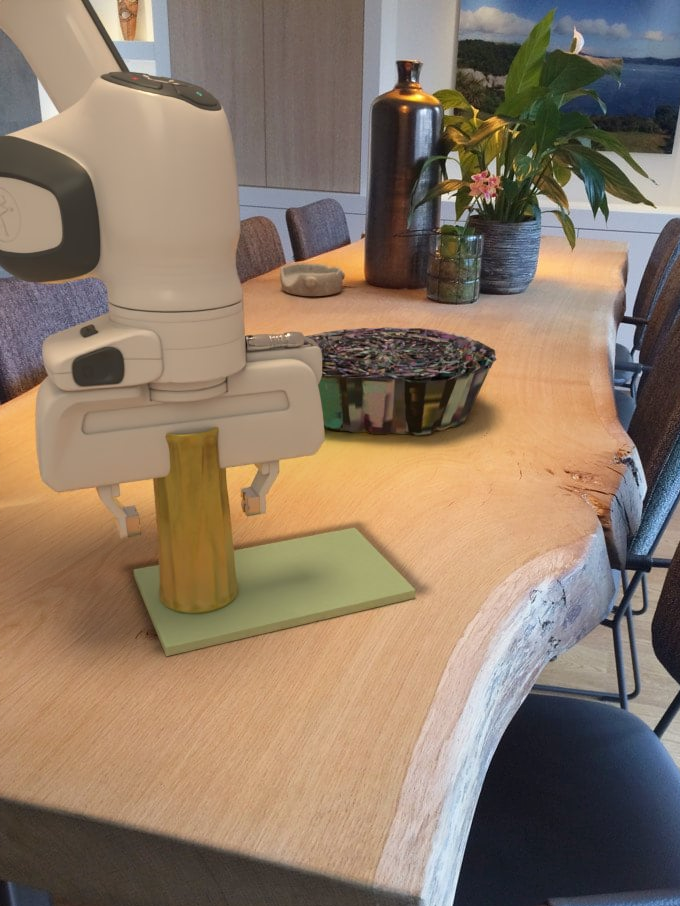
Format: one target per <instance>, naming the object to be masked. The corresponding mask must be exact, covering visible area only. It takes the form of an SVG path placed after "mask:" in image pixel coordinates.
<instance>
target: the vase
mask: <svg viewBox="0 0 680 906" xmlns="http://www.w3.org/2000/svg"><path fill="white" fill-rule="evenodd" d="M218 434H219V428H218V427H215V428H213V429H211V430H208V431H205V432H201V433H194V434H171V433H167V434H166V440H167V443H168V446H169V454H170V471H169V474H168V475H167V476H166V477H162V478H155V479H152V483H153V493H154V507H155V509H154V510H155V520H156V529H157V542H158V545H157V546H158V565H159V573H160V584H159V598H160V601H161V602H162V604H163V605H164V606H166V607H167V608H169V609H171V610H174V611H176V612H180V613H187V614H200V613H207V612H212V611H215V610H218V609H220V608H222V607H224V606H226V605H228V604H230V603H231V602H232V601H233V600H234V599H235V598H236V596H237V594H238V583H237V579H236V572H235V561H234V549H235V547H234V538H233V530H232V529H233V528H232V519H231V518H232V517H231V508H230V501H229V491H228V483H227V482H228V481H227V468H223V469H222V468H220V462H219V450H218Z"/></svg>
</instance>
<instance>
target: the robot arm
mask: <svg viewBox="0 0 680 906" xmlns="http://www.w3.org/2000/svg"><path fill="white" fill-rule="evenodd" d="M0 29H1V30H2V31H3V33H5V34H6V35H7V36H8V38H10V40H11V41H12V42H13V43H14V44H15V46H16V47H17V48H18V50H19V51H20V52H21V54H22V55H23V58H24V59H25V60H26V62H27V63H28V65H29V67H30V69H31V70H32V72H33V73H34V75H35V76H36V78H37V80H38V81H39V84H40V85H41V87H42V88H43V90H44V91H45V93H46V94H47V96H48V98H49V99H50V101H51V102H52V104H53V106H54V107H55V109H56V111H57V112H58V113H57V114H55V115H54V116H52V117H50V118H47V119H45V120H44V121H41V122H38V123H35V124H33V125H30V126H27V127H25V128H22V129H20V130H16V131H13V132H11V133H8V134H4V135H0V268H1V269H3V270H4V271H5V272H7V274H10V275H11V276H13V277H14V278H16V279H18V280H21V281H23V282H26V283H36V284H37V283H38V284H47V285H48V284H49V285H58V284H64V283H70V282H74V281H80V280H84V279H88V278H96V279H98V280H99V281H101V282H102V283H103V284H104V287H105V288H106V294H107V308H108V312H106V313H103V314H101V315H98V316H96V317H94V318H91V319H89V320H86V321H84V322H81V323H78V324H76V325H73V326H71V327H67V328H66V329H63V330H60V331H58V332H55V333H53V334H50V335H49V336H47V337H46V338H45V339H44V340H43V342H42V348H41V349H42V350H41V352H42V353H41V354H42V361H43V366H44V369H45V372H46V374H47V376H46V377H45V378H44V379H43V380H42V382H41V383H40V385H39V387H38V390H37V394H36V399H35V412H34V413H35V414H34V415H35V416H34V417H35V418H34V419H35V420H34V424H35V426H34V428H35V429H34V432H35V433H34V435H35V447H36V448H35V449H36V459H37V465H38V470H39V475H40V479H41V481H42V482H43V483H44V484H45V485H46V486H47V487H48V488H50V489H51V490H52V491H54V492H56V493H66V492H72V491H74V492H75V491H80V490H86V489H93V488H95V490H96V493H97V495H98V498H99V500H100V501H101V503H103V505H104V506H105V507H106V509H108V510H109V511H110V513H111V514H112V515H113V516H114V517H115V524H116V526H115V527H116V529H117V534H118V536H119V539H126V538H130V537H136V536H142V529H141V526H140V525H141V518H140V517H141V516H140V514H139V512H138V511H137V507H136V505H129V506H128V505H127V506H124V505H123V504H122V503H121V502H120V500H118V498H120V496H121V488H120V485H121V484H127V483H135V482H140V481H141V482H142V481H148V480H153V479H155V478H162V477H166V476H167V475H168V474H169V471H170V454H169V446H168V443H167V440H166V434H167V433H171V434H194V433H201V432H205V431H208V430H211V429H213V428H215V427H218V428H219V434H218V450H219V462H220V468H222V469H223V468H226V469H229V468H237V467H241V466H243V467H244V466H249V465H250V466H251V465H254V466H255V468H256V469H257V471H256V474H255V476H254V478H253V480H252V482H251V484H250V486H247V487H241V488H240V497H241V499H242V500H241V501H240V506H241V510H242V512H243V513H244V514H245V516H246V517H252V516H258V515H259V516H260V515H264V514H267V499H266V498H267V497H266V495H268V493H269V491H270V490H271V488H272V486H273V484H274V483H275V481H276V479H277V477H278V476H279V474H280V461H283V460H290V459H297V458H304V457H310V456H314V455H316V454H317V453H318V452H319V450H320V449H321V447H322V446H323V444H324V442H325V426H324V421H323V411H322V404H321V398H320V392H319V388H318V384H319V382H320V380H321V377H322V353H321V349H320V347H319V345H318V344H317V343H316V342H315V341H314V340H313V339H311V338H309V337H304V336H305V335H304V333H303V332H300V331H287V332H284V333H279V334H278V333H277V334H274V333H272V334H269V333H268V334H267V333H261V334H260V333H259V334H247V335H246V327H245V326H246V325H245V324H246V323H245V307H244V306H245V302H244V301H245V300H244V289H243V286H242V283H241V279H240V277H239V274H238V269H237V249H238V244H239V240H240V237H241V229H242V227H241V207H240V191H239V177H238V169H237V168H238V167H237V159H236V153H235V146H234V141H233V134H232V131H231V126H230V123H229V120H228V117H227V114H226V112H225V109H224V107H223V105H222V103H221V102H220V101H219V99H217V98H216V97H215V96H214V95H213V94H212V93H211V92H209V91H207V90H206V89H205V88H203V87H201V86H199V85H196V84H194V83H190V82H187V81H184V80H179V79H176V78H171V77H168V76H167V77H166V76H156V75H152V74H151V75H150V74H149V73H143V72H138V71H137V72H136V71H130V69H129V67H128V65H127V64H126V62H125V60H124V58H123V56H122V55H121V54H120V52H119V50H118V49H117V46H116V45H115V43H114V41H113V39H112V37H111V36H110V34H109V33H108V31H107V29H106V27H105V25H104V24H103V22H102V21H101V18H100V17H99V15H98V14H97V11H96V9H95V8H94V6H93V4H92V3H91V1H90V0H0ZM304 342H306V343H308V344H310V345H303V344H304Z"/></svg>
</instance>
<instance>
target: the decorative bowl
mask: <svg viewBox="0 0 680 906" xmlns="http://www.w3.org/2000/svg"><path fill="white" fill-rule="evenodd" d="M304 337H309V338H311V339H313V340H314V341H315V342H316V343H317V344H318V345H319V347H320V349H321V353H322V377H321V380H320V382H319V384H318V388H319V392H320V398H321V404H322V411H323V421H324V428H326V429H328V430H332V431H336V432H349V433H354V434H355V433H369V434H371V435H383V436H384V435H385V436H386V435H389V434H391V433H392V434H400V435H406V434H407V435H410V436H415V437H418V436H424V435H432V434H433V433H434V432H435V431H444V430H446V429H448V428H455V427H459V426H460V425H461V424H462V423H464V422H465V421H466V419H467V417H468V416H469V415H470V413H471V412H472V409H473V407H474V404H475V402H476V400H477V398H478V396H479V393H480V392H481V390H482V387H483V385H484V382H485V380H486V378H487V376H488V374H489V371H490V369H492V365H493V364H494V362H496V361H497V358H496V350H495V349H493V348H492V347H490V346H488V345H487V344H485V343H482V342H480V341H479V340H475V339H472V338H471V337H469V336H467V335H463V334H457V333H453V332H446V331H442V330H438V329H430V328H420V327H413V328H412V327H411V328H406V327H405V328H404V327H388V326H385V327H362V328H361V327H360V328H346V329H345V328H344V329H343V328H342V329H337V330H330V331H324V332H320V333H315V334H308V335H304ZM303 345H310V344H308V343H306V342H304V344H303Z"/></svg>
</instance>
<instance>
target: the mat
mask: <svg viewBox="0 0 680 906" xmlns="http://www.w3.org/2000/svg"><path fill="white" fill-rule="evenodd" d="M234 561H235V572H236V579H237V583H238V594H237V596H236V598H235V599H234V600H233V601H232V602H231V603H230V604H228V605H226V606H224V607H222V608H220V609H218V610H215V611H212V612H207V613H200V614H187V613H180V612H176V611H174V610H171V609H169V608H167V607H166V606H164V605H163V604H162V602H161V601H160V598H159V584H160V573H159V564H156V565H151V566H145V567H140V568H135V569H133V578H134V580H135V583H136V585H137V588H138V590H139V593H140V595H141V597H142V600H143V603H144V606H145V607H146V610H147V612H148V614H149V618H150V619H151V623H152V625H153V627H154V629H155V632H156V635H157V637H158V640H159V642H160V645H161V647H162V650H163V652H164V654H165V656H166V657H170V656H175V655H178V654H182V653H188V652H193V651H197V650H200V649H204V648H209V647H213V646H216V645H221V644H225V643H230V642H235V641H238V640H243V639H247V638H251V637H255V636H260V635H264V634H268V633H272V632H276V631H281V630H284V629H290V628H293V627H298V626H302V625H307V624H310V623H314V622H319V621H323V620H327V619H333V618H335V617H340V616H344V615H350V614H352V613H353V614H354V613H358V612H362V611H367V610H370V609H376V608H379V607H383V606H388V605H391V604H396V603H400V602H404V601H409V600H413V599H416V593H417V591H416V590H417V589H416V588H415V587H414V586H413V585H411V584H410V582H409V581H408V580H407V579H406V578H405V577H404V576H403V575H402V574H401V573H400V572H399V571H398V570H397V569H396V567H394V566H393V565H392V564H391V563H390V561H388V559H386V558H385V556H383V554H381V552H380V551H379V550H378V549H377V548H376V547H375V546H374V545H373V544H372V543H371V542H370V541H369V540H368V539H367V538H366V536H364V535H363V534H362V533H361V531H359V529H357V528H356V527H350V528H345V529H344V528H343V529H339V530H334V531H329V532H324V533H323V532H322V533H319V534H313V535H309V536H302V537H297V538H292V539H287V540H282V541H277V542H271V543H266V544H260V545H255V546H250V547H244V548H240V549H235V550H234Z"/></svg>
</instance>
